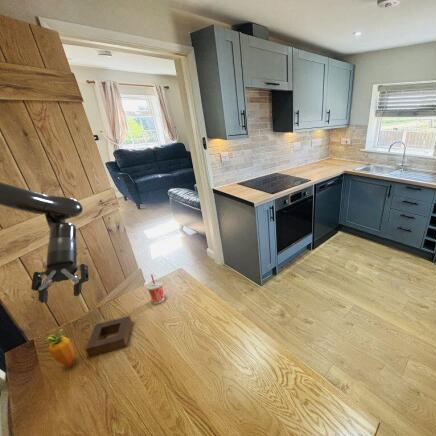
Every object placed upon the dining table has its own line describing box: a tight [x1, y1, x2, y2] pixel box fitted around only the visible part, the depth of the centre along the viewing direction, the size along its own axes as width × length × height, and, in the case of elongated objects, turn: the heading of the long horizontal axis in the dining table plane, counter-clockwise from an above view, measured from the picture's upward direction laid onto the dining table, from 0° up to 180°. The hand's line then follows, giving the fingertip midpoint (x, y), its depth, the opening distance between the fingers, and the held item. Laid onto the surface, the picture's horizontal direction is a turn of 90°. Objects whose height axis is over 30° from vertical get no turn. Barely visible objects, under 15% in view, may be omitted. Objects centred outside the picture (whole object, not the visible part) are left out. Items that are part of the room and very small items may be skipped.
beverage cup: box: [145, 274, 165, 305], centre depth 103 cm, size 6×6×14 cm
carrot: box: [46, 328, 75, 368], centre depth 75 cm, size 5×5×15 cm
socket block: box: [85, 315, 133, 358], centre depth 87 cm, size 11×11×4 cm
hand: (60, 298), depth 79 cm, fingers open, 8 cm apart
